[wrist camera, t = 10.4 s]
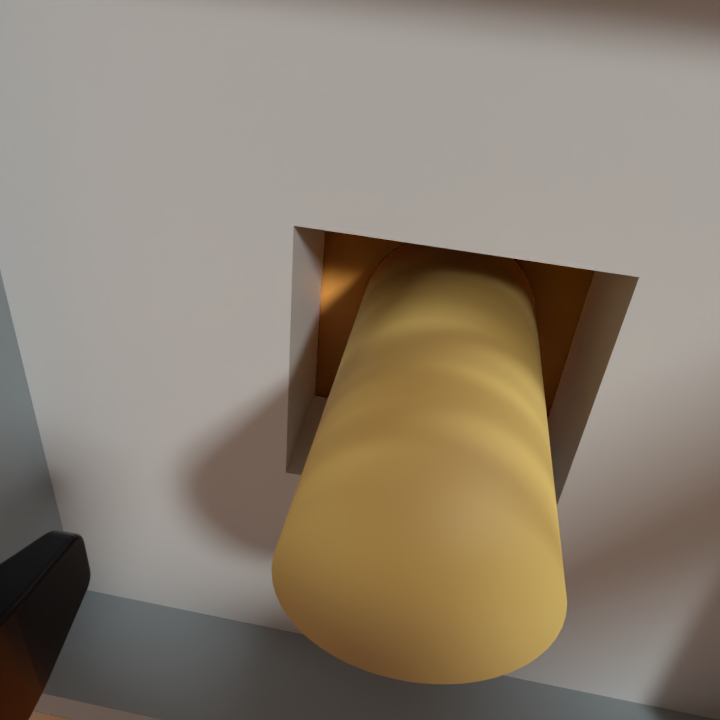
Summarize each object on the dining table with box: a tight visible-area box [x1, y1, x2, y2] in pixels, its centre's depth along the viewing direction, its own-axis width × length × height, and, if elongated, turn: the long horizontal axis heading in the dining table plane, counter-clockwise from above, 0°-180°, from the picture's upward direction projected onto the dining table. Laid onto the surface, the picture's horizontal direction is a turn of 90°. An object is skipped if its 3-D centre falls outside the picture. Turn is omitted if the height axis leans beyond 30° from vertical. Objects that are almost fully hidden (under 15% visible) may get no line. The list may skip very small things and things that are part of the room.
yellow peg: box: [271, 243, 567, 684], centre depth 12 cm, size 4×4×8 cm
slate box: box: [0, 0, 720, 720], centre depth 13 cm, size 20×20×6 cm
